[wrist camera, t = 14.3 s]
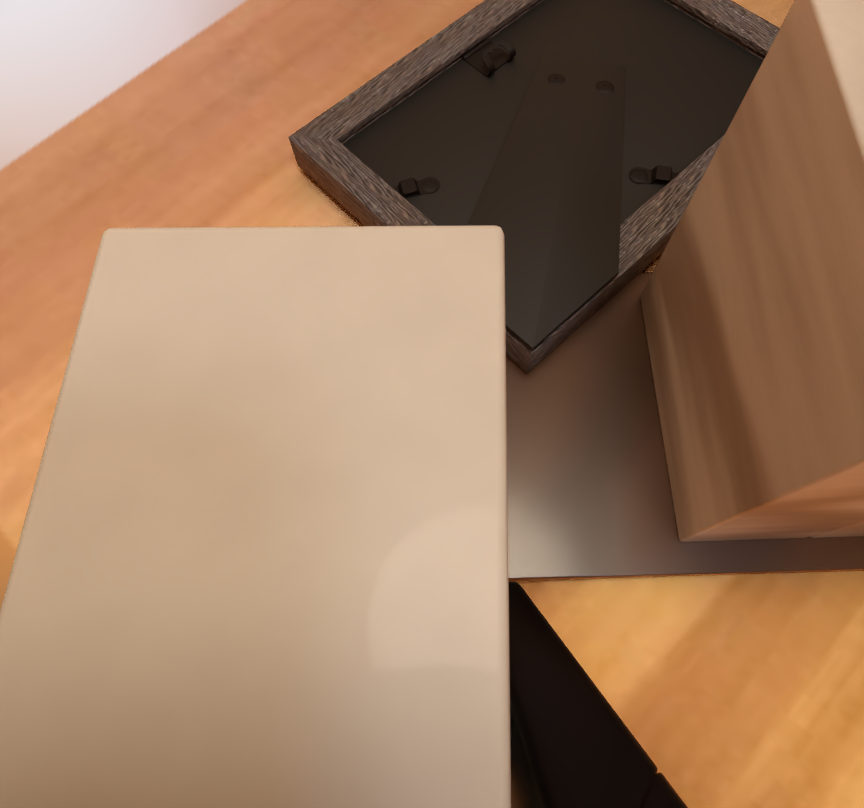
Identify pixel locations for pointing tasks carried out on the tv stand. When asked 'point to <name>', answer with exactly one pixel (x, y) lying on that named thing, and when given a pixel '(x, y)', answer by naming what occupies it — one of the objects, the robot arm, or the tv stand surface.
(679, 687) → the tv stand surface
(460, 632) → the beige rectangular block
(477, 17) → the picture frame
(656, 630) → the tv stand surface
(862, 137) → the brown boxy structure
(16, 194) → the tv stand surface
